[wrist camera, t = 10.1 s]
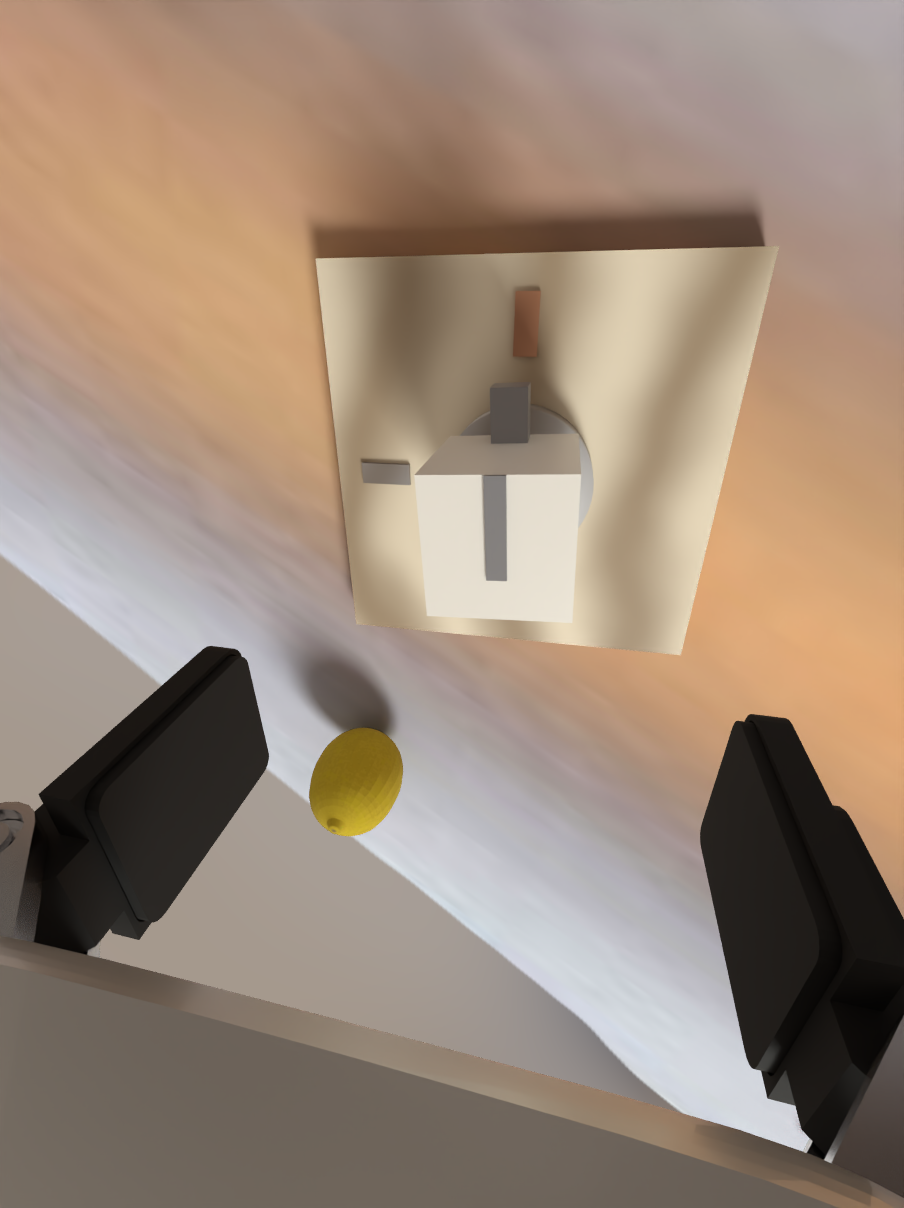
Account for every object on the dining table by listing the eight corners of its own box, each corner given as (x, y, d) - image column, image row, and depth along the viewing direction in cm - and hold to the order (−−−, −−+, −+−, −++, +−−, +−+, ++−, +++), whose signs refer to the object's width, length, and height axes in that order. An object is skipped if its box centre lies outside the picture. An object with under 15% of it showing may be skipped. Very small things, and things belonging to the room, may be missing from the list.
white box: (571, 554, 24) (572, 625, 18) (456, 551, 25) (425, 618, 19) (581, 379, 20) (585, 404, 15) (447, 384, 21) (406, 410, 16)
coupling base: (766, 249, 21) (804, 238, 17) (675, 639, 29) (689, 683, 26) (329, 261, 24) (288, 253, 20) (364, 611, 33) (340, 647, 29)
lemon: (327, 709, 37) (272, 800, 30) (399, 698, 35) (357, 793, 29) (357, 767, 39) (313, 864, 33) (426, 760, 38) (394, 861, 31)
